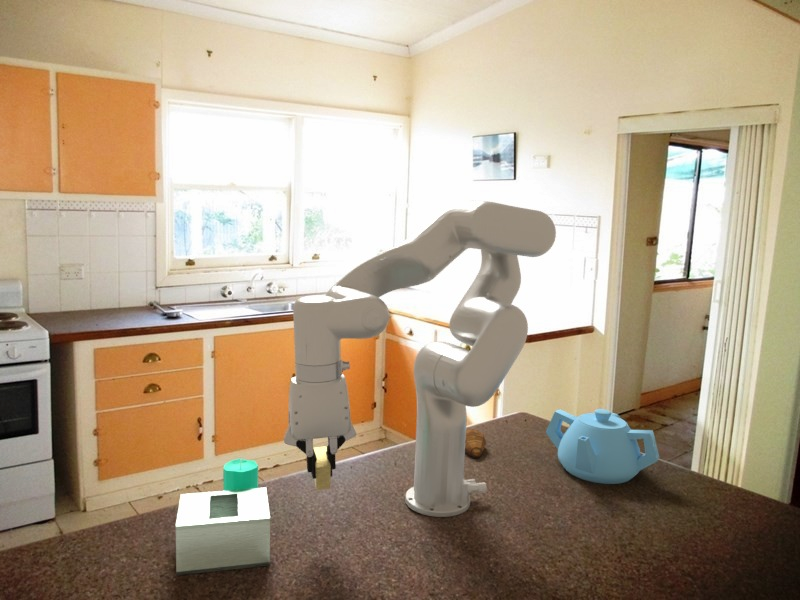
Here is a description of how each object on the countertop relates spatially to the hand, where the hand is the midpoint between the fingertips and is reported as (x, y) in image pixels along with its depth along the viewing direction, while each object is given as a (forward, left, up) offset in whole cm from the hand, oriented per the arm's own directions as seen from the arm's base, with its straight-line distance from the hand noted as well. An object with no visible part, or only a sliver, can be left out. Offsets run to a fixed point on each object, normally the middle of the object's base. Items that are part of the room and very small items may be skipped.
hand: (321, 473), depth 110 cm
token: (0, -1, -1) cm, 2 cm away
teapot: (-64, -16, -11) cm, 67 cm away
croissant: (-41, -33, -12) cm, 54 cm away
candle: (+13, -8, -11) cm, 19 cm away
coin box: (+16, +2, -11) cm, 20 cm away
